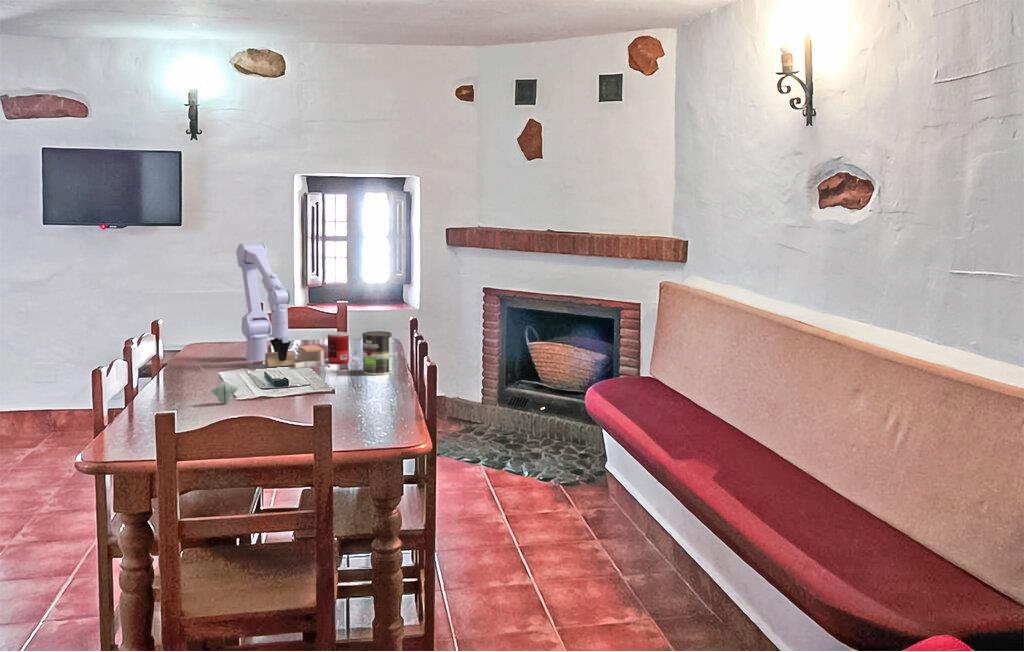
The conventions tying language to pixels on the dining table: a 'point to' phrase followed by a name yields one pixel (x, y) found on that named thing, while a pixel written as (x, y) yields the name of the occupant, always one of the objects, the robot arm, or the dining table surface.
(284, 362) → the tan cardboard block
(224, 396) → the pale green angular piece
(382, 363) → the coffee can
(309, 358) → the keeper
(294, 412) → the dining table surface
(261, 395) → the dining table surface
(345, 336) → the canned food
